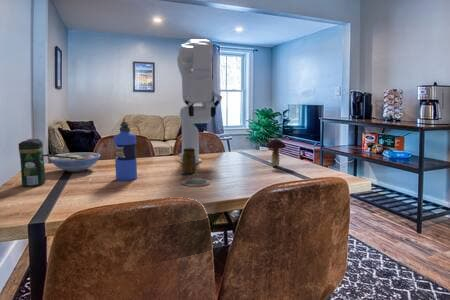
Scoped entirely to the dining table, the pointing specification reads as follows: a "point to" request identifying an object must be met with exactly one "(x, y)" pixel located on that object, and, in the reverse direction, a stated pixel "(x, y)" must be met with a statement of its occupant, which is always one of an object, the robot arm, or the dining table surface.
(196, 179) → the coaster
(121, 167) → the water bottle
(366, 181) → the dining table surface
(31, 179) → the coffee jar
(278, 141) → the decorative mushroom
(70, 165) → the ramen bowl
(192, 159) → the condiment
